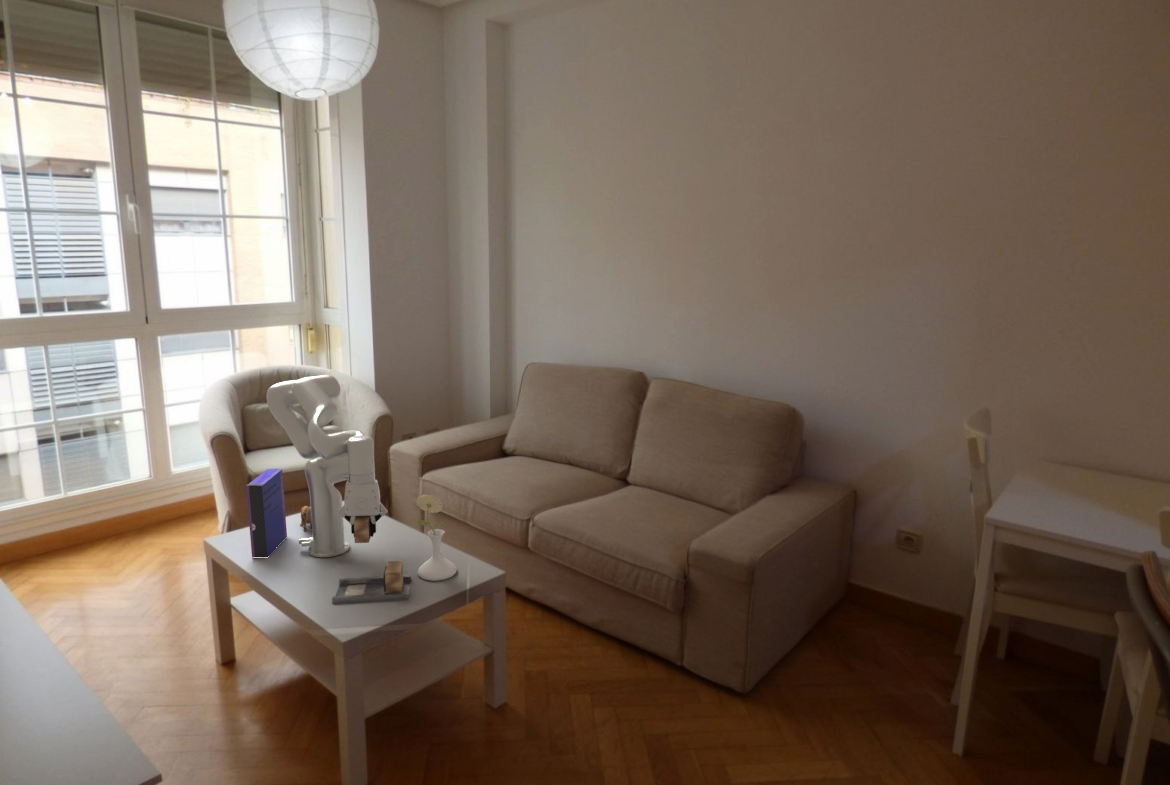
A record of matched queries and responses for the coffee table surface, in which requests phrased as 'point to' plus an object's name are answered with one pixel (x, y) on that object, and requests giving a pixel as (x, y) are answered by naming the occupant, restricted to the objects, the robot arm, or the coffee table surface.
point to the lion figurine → (306, 517)
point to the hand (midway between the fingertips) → (363, 534)
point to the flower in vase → (434, 544)
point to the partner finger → (393, 577)
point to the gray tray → (368, 590)
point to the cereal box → (266, 512)
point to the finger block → (362, 529)
